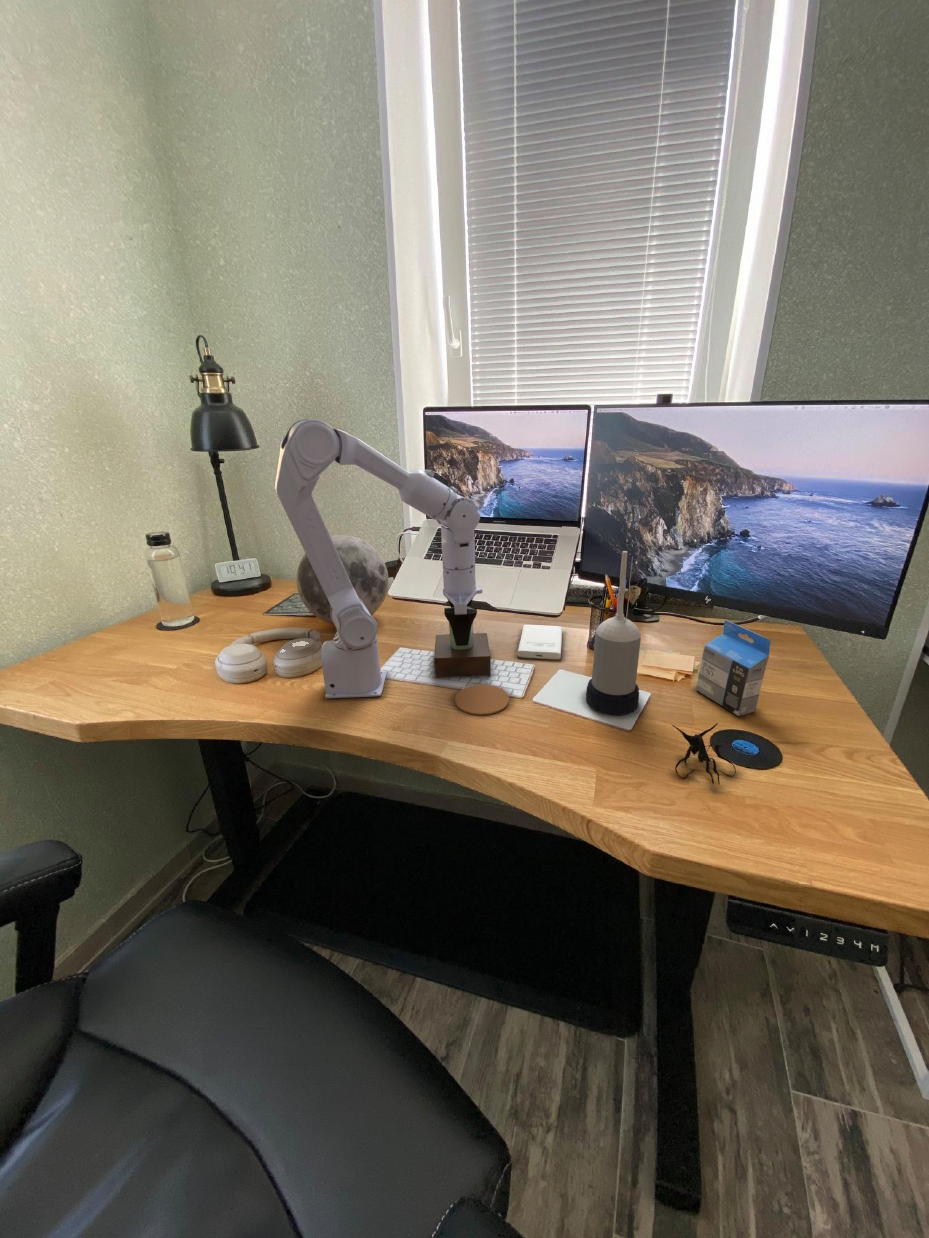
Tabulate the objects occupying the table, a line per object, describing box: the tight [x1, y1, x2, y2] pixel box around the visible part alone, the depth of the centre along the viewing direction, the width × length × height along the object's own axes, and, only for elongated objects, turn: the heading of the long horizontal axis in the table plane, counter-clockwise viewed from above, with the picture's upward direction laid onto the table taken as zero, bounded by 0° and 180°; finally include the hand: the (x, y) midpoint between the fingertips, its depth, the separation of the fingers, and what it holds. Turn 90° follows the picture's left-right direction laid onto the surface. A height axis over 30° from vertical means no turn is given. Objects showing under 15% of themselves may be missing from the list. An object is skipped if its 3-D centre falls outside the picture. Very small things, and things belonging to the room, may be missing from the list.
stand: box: [433, 632, 492, 679], centre depth 95 cm, size 10×10×4 cm
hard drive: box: [517, 624, 563, 660], centre depth 102 cm, size 2×8×12 cm
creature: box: [671, 722, 737, 786], centre depth 65 cm, size 8×5×8 cm
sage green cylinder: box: [448, 606, 474, 650], centre depth 93 cm, size 4×4×7 cm
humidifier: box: [585, 550, 642, 717], centre depth 77 cm, size 8×8×25 cm
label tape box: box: [695, 619, 772, 717], centre depth 79 cm, size 9×4×12 cm, turn 21°
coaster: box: [454, 684, 510, 716], centre depth 84 cm, size 9×9×1 cm
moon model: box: [295, 534, 389, 625], centre depth 113 cm, size 20×20×20 cm
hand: (461, 635), depth 93 cm, fingers open, 7 cm apart
